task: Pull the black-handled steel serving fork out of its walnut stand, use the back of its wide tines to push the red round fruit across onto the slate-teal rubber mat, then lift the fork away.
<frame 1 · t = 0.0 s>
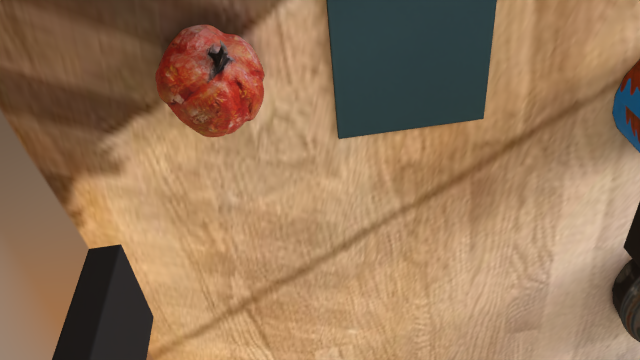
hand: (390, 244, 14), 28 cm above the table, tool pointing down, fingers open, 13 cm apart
mat: (411, 23, 40), on the table
red round fruit: (214, 62, 40), on the table
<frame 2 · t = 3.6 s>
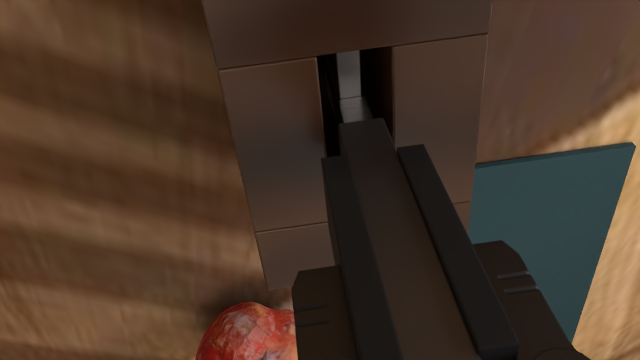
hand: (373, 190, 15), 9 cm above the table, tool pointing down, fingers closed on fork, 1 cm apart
mat: (496, 276, 33), on the table
fork stand: (332, 55, 23), on the table
fork: (379, 196, 15), in the fork stand, touching gripper
red round fruit: (257, 320, 33), on the table
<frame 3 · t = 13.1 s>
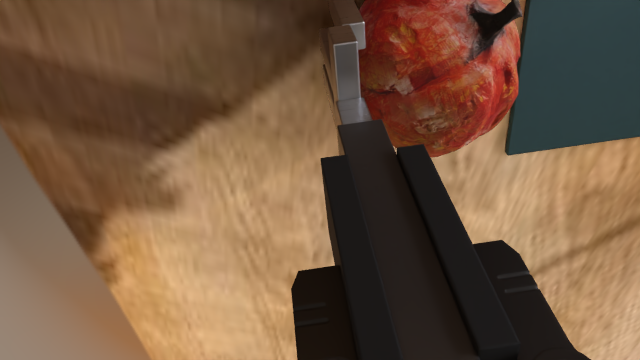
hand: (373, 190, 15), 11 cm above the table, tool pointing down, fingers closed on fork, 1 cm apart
fork: (378, 197, 15), point 12 cm above the table, touching gripper, red round fruit
red round fruit: (407, 35, 25), on the table, touching fork
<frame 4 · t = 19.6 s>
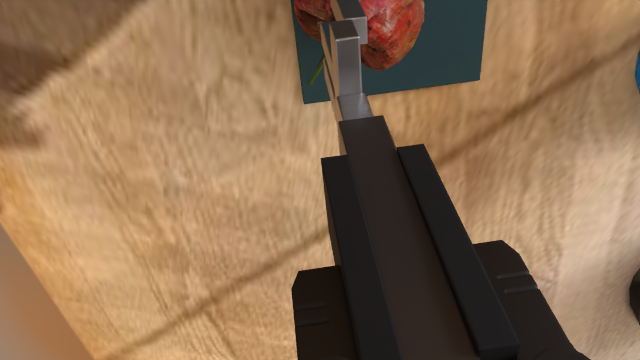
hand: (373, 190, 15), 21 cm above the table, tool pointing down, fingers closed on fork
fork: (379, 194, 15), point 21 cm above the table, touching gripper
red round fruit: (292, 18, 29), point 4 cm above the table, touching mat
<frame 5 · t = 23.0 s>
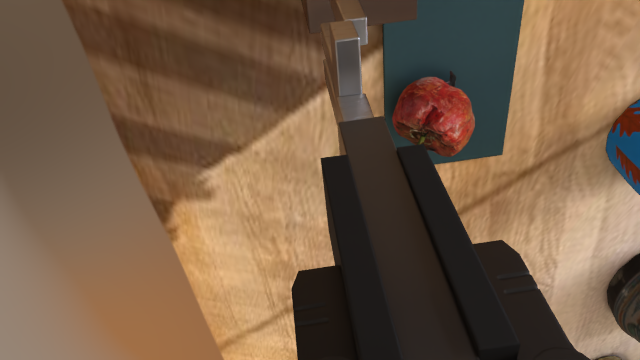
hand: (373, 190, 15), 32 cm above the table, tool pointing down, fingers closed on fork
mat: (448, 84, 51), on the table
fork: (379, 195, 15), point 33 cm above the table, touching gripper
red round fruit: (394, 127, 48), point 4 cm above the table, touching mat
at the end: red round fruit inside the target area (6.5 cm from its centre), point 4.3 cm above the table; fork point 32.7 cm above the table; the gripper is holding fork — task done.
